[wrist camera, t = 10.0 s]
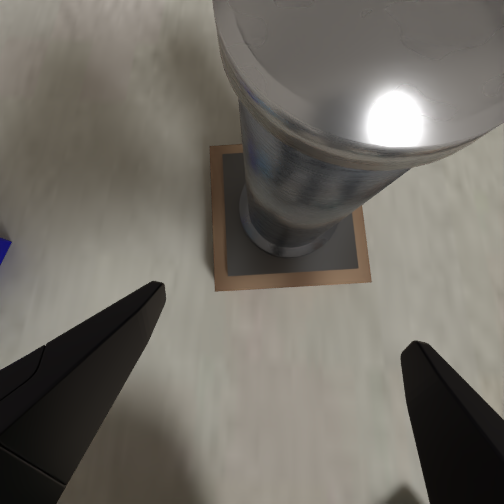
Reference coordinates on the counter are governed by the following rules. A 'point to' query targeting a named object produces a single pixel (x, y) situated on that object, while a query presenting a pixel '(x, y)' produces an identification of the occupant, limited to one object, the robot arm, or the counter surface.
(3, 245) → the cable clip
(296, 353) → the counter surface
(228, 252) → the stand
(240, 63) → the grey plastic cylinder
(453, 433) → the robot arm
